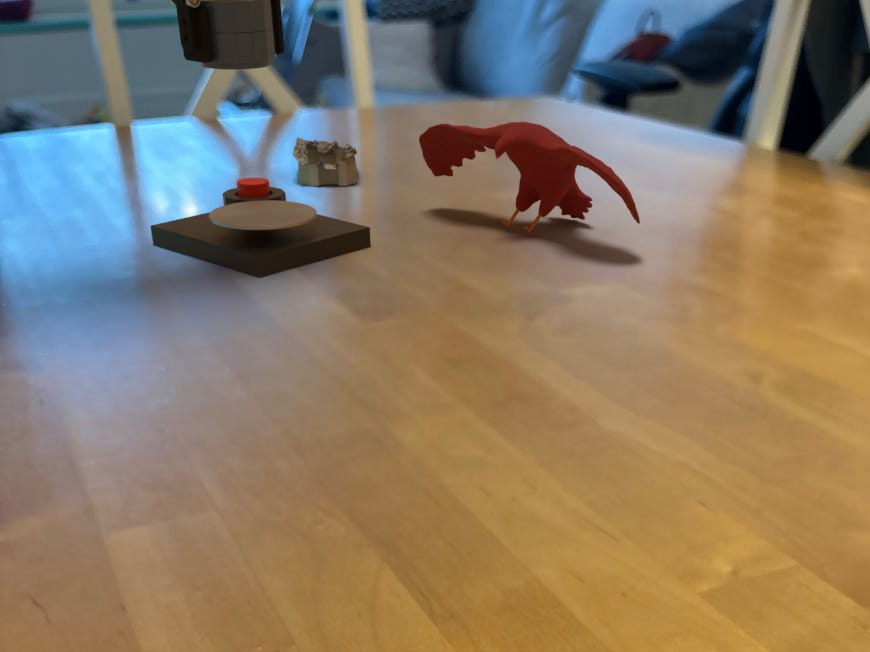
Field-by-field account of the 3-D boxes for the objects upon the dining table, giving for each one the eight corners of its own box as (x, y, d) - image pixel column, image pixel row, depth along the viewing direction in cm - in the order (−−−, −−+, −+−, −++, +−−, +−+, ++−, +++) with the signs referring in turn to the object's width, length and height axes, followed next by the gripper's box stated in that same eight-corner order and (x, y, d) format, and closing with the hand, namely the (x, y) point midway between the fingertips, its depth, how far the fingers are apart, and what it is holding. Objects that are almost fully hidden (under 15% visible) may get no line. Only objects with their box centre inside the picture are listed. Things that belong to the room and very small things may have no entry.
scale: (149, 244, 109) (144, 207, 107) (261, 218, 117) (257, 183, 115) (259, 278, 100) (255, 238, 98) (371, 247, 109) (369, 209, 107)
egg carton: (358, 187, 130) (356, 150, 127) (293, 188, 129) (290, 150, 127) (358, 167, 138) (356, 132, 136) (297, 167, 138) (295, 132, 136)
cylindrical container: (179, 65, 94) (170, -3, 92) (242, 57, 99) (235, -8, 96) (229, 72, 91) (222, 2, 88) (293, 64, 95) (287, -3, 92)
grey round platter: (186, 216, 104) (186, 213, 103) (269, 198, 110) (269, 195, 110) (256, 236, 98) (256, 232, 98) (339, 215, 105) (338, 212, 104)
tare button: (231, 197, 112) (229, 181, 111) (256, 191, 114) (254, 175, 113) (252, 202, 110) (250, 186, 109) (276, 196, 112) (275, 180, 111)
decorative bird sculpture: (451, 243, 126) (379, 151, 113) (494, 175, 126) (427, 76, 114) (650, 300, 109) (591, 199, 97) (699, 221, 110) (646, 112, 98)
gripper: (139, -215, 77) (177, 72, 87) (325, -202, 88) (340, 51, 98) (79, -211, 81) (122, 62, 91) (264, -199, 92) (284, 44, 102)
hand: (235, 54), depth 94 cm, fingers closed on cylindrical container, 6 cm apart
